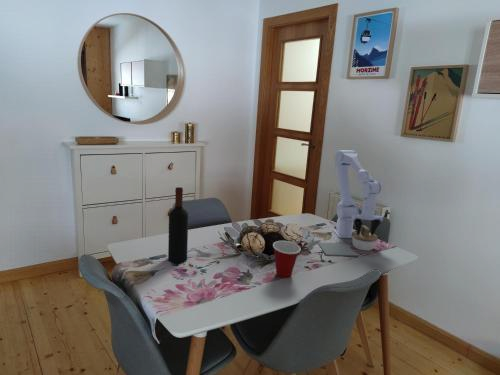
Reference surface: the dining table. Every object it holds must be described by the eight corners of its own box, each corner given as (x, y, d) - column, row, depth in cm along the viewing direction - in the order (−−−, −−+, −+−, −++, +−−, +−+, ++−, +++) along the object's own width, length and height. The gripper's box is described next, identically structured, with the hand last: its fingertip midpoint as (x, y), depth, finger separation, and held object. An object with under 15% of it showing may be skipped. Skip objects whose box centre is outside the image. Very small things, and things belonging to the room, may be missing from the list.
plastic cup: (288, 284, 139) (291, 253, 136) (264, 274, 146) (267, 245, 143) (303, 274, 148) (306, 245, 145) (280, 265, 154) (282, 238, 151)
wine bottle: (164, 260, 152) (165, 188, 145) (176, 254, 159) (177, 184, 152) (179, 265, 149) (180, 191, 142) (190, 258, 155) (192, 187, 148)
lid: (347, 232, 185) (349, 222, 183) (371, 232, 186) (372, 223, 185) (356, 241, 173) (358, 231, 172) (381, 241, 174) (383, 232, 173)
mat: (317, 243, 181) (317, 242, 181) (345, 244, 182) (346, 243, 182) (326, 255, 167) (326, 254, 167) (356, 256, 169) (356, 255, 169)
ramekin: (365, 253, 173) (366, 242, 172) (346, 245, 182) (347, 234, 180) (379, 249, 179) (381, 238, 178) (360, 241, 188) (362, 231, 187)
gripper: (357, 208, 171) (353, 237, 174) (387, 209, 173) (383, 237, 176) (351, 204, 178) (347, 231, 181) (380, 205, 179) (376, 232, 183)
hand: (364, 234), depth 179 cm, fingers open, 6 cm apart
